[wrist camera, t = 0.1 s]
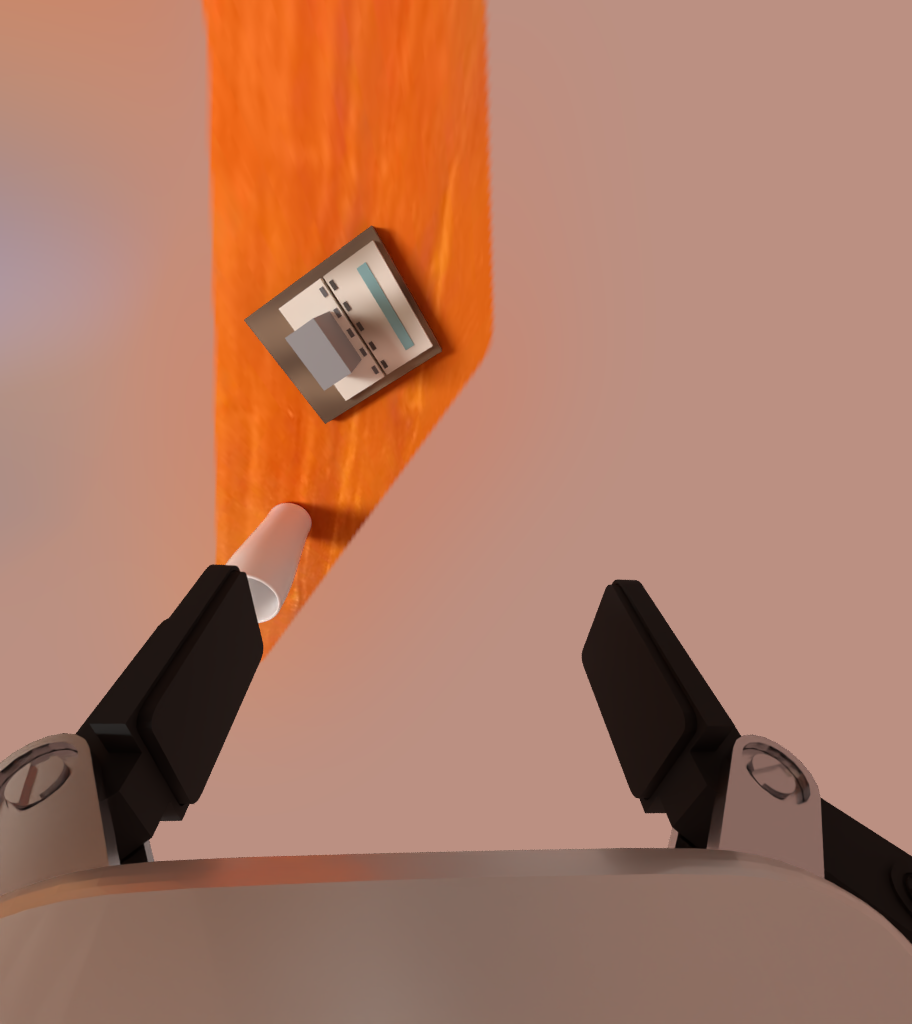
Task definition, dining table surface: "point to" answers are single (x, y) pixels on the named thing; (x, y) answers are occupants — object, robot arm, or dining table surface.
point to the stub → (329, 342)
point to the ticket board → (354, 321)
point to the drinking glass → (273, 557)
